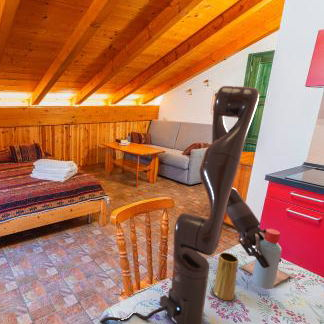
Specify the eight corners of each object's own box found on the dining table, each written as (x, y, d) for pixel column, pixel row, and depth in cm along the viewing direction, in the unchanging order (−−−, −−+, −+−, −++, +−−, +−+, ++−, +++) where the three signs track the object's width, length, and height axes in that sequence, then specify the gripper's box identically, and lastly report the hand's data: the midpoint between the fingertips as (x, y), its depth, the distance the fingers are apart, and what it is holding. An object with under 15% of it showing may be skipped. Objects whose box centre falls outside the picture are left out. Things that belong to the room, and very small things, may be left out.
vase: (213, 297, 83) (218, 259, 79) (212, 285, 88) (217, 249, 85) (234, 303, 80) (240, 265, 77) (233, 290, 85) (238, 254, 82)
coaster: (273, 286, 87) (273, 285, 87) (241, 268, 96) (241, 267, 96) (290, 277, 91) (290, 276, 91) (258, 260, 101) (258, 259, 101)
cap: (274, 244, 78) (276, 235, 77) (261, 238, 81) (263, 230, 80) (280, 241, 80) (282, 232, 79) (268, 236, 83) (270, 227, 82)
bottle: (267, 291, 80) (278, 239, 76) (247, 279, 86) (257, 230, 81) (277, 285, 83) (289, 234, 78) (258, 274, 88) (267, 226, 84)
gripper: (237, 216, 82) (270, 268, 75) (262, 208, 88) (296, 256, 81) (220, 224, 88) (249, 273, 81) (245, 216, 94) (274, 261, 87)
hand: (272, 264), depth 81 cm, fingers closed on bottle, 6 cm apart
